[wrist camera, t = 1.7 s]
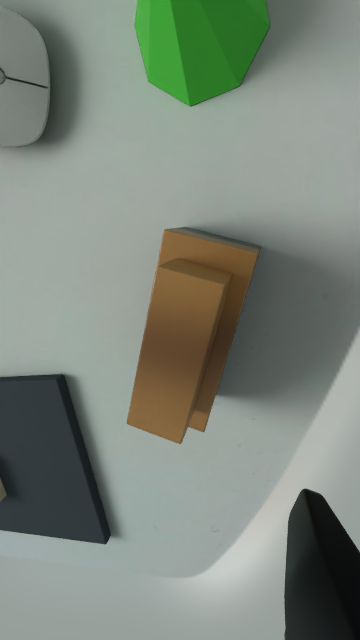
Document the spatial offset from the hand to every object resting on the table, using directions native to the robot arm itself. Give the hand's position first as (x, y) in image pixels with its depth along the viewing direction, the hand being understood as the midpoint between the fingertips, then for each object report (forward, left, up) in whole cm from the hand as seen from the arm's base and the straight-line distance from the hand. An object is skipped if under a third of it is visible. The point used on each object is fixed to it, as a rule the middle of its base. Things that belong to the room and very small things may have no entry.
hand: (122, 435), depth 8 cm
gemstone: (+13, -2, -11) cm, 17 cm away
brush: (0, 0, -10) cm, 10 cm away
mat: (-10, +20, -10) cm, 25 cm away
